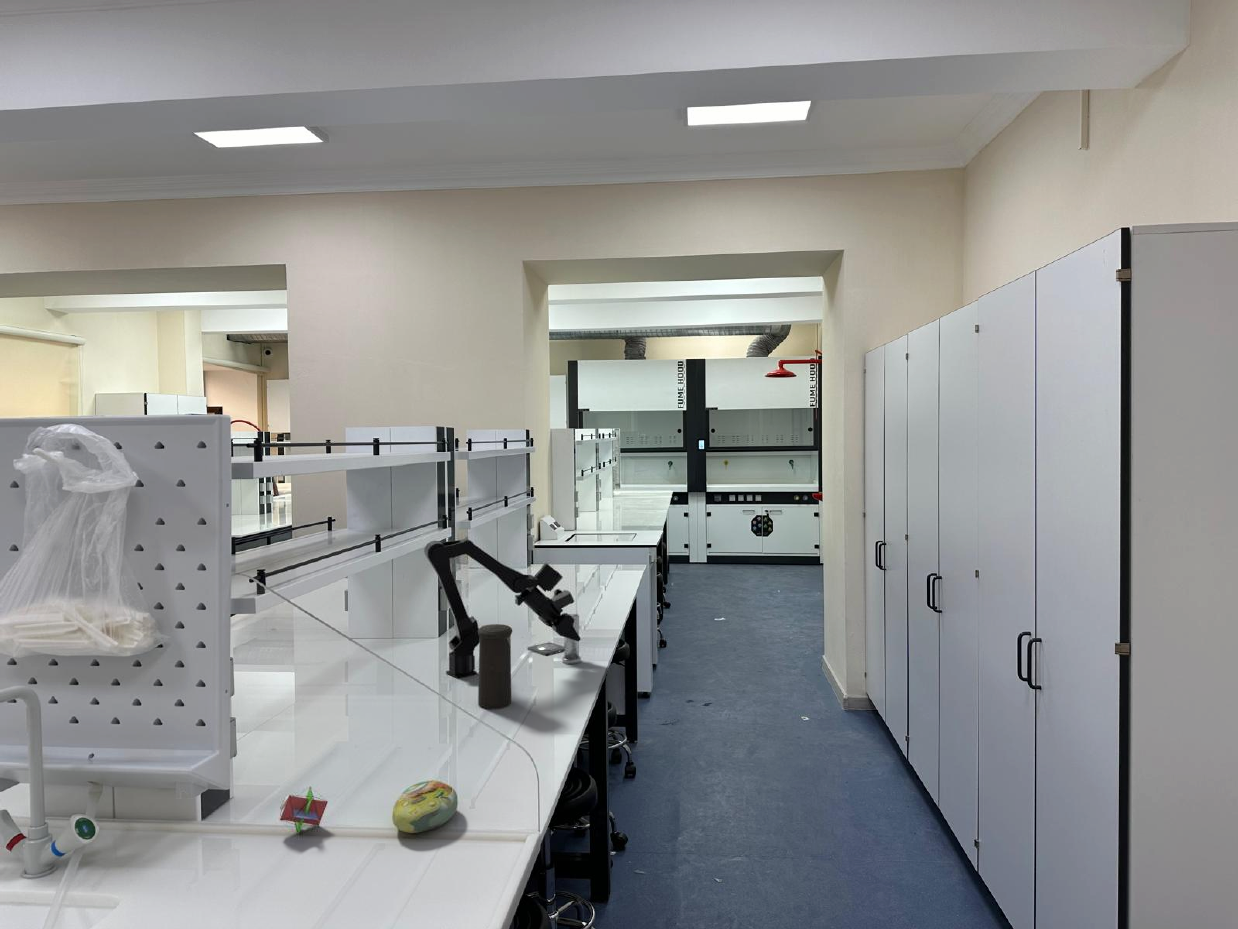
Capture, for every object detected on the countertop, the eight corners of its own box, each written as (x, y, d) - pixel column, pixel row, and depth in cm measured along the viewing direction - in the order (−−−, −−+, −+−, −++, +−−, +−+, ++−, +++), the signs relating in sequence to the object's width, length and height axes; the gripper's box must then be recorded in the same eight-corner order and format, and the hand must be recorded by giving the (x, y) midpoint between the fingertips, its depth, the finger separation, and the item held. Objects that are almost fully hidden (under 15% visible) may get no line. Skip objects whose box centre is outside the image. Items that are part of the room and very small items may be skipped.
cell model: (377, 827, 130) (402, 760, 144) (392, 860, 133) (415, 791, 147) (438, 818, 129) (457, 751, 143) (452, 851, 132) (470, 782, 146)
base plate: (544, 655, 241) (544, 652, 241) (527, 649, 247) (527, 646, 247) (567, 650, 247) (567, 647, 247) (549, 644, 253) (549, 641, 253)
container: (519, 701, 199) (519, 624, 198) (496, 712, 191) (496, 632, 191) (493, 695, 204) (493, 620, 203) (469, 705, 196) (469, 627, 195)
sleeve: (570, 665, 231) (570, 618, 230) (558, 661, 235) (558, 615, 234) (584, 662, 234) (584, 615, 234) (572, 658, 238) (572, 612, 238)
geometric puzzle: (333, 801, 140) (304, 772, 137) (339, 818, 134) (309, 787, 131) (299, 832, 137) (269, 803, 135) (303, 851, 131) (272, 820, 129)
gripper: (567, 588, 223) (603, 623, 228) (548, 577, 240) (581, 609, 245) (541, 618, 221) (577, 652, 225) (523, 604, 238) (558, 636, 242)
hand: (574, 636), depth 235 cm, fingers open, 9 cm apart
